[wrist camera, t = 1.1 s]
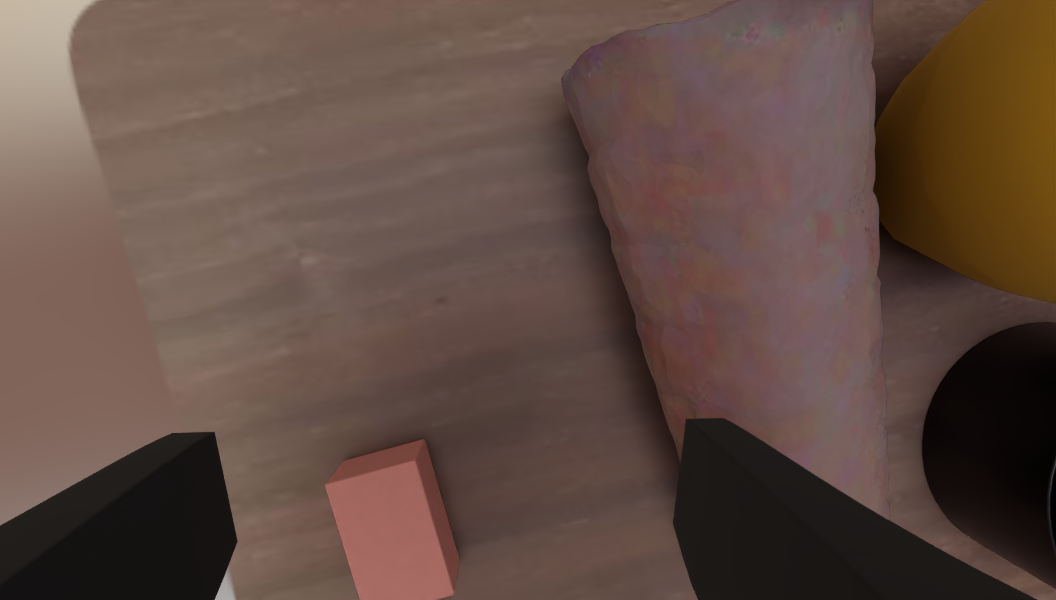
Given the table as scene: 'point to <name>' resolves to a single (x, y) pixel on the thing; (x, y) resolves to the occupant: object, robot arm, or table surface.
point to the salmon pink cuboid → (394, 525)
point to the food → (750, 222)
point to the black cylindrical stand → (1000, 446)
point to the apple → (978, 150)
